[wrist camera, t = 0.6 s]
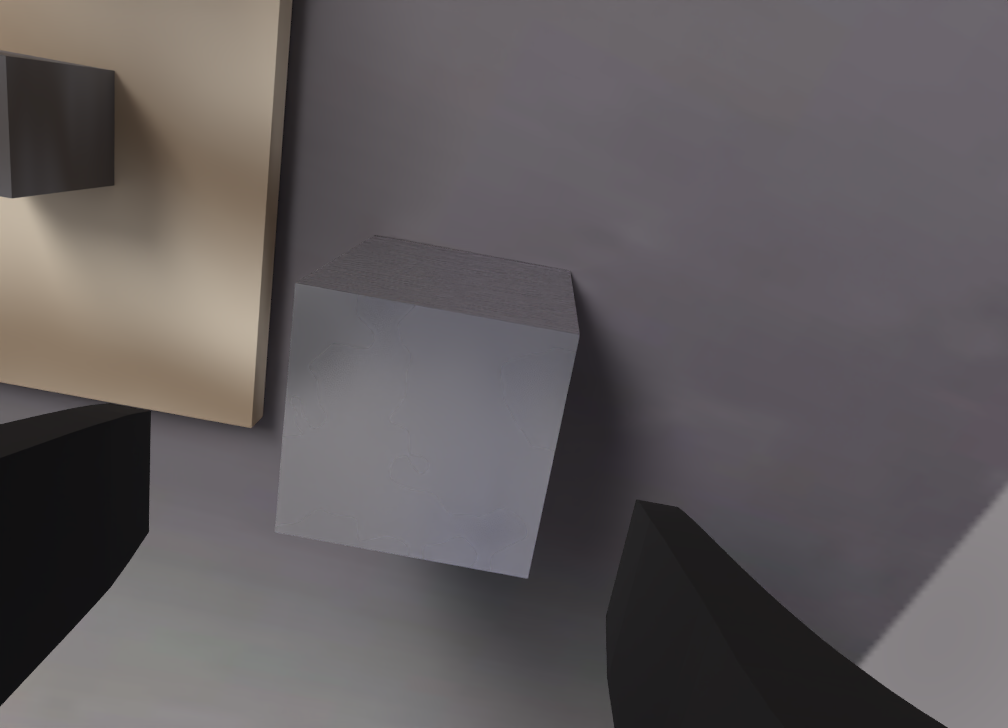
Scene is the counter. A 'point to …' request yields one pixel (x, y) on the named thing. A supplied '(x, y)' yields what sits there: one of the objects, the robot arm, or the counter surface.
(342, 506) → the brushed gray cube
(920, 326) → the counter surface
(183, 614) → the counter surface
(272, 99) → the board
